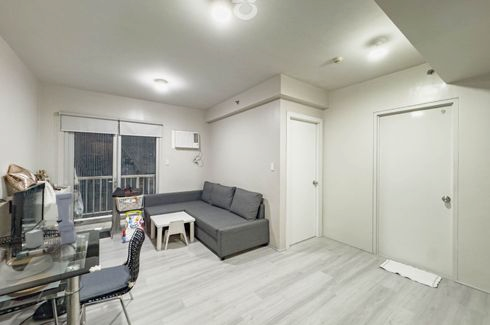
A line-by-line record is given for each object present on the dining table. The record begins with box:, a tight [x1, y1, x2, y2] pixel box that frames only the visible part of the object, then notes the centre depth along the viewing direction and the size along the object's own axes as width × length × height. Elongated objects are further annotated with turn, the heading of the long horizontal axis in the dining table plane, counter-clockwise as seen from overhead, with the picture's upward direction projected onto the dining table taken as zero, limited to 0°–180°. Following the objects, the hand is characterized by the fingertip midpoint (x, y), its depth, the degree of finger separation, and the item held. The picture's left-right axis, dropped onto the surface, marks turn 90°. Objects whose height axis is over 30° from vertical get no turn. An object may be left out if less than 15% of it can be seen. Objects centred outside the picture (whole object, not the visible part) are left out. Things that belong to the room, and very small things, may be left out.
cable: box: [20, 245, 55, 256], centre depth 149 cm, size 18×3×3 cm, turn 114°
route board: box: [13, 246, 59, 261], centre depth 149 cm, size 21×9×4 cm, turn 114°
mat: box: [31, 244, 64, 251], centre depth 157 cm, size 22×6×1 cm, turn 114°
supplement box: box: [24, 229, 45, 249], centre depth 164 cm, size 7×7×13 cm
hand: (63, 226), depth 179 cm, fingers open, 7 cm apart
